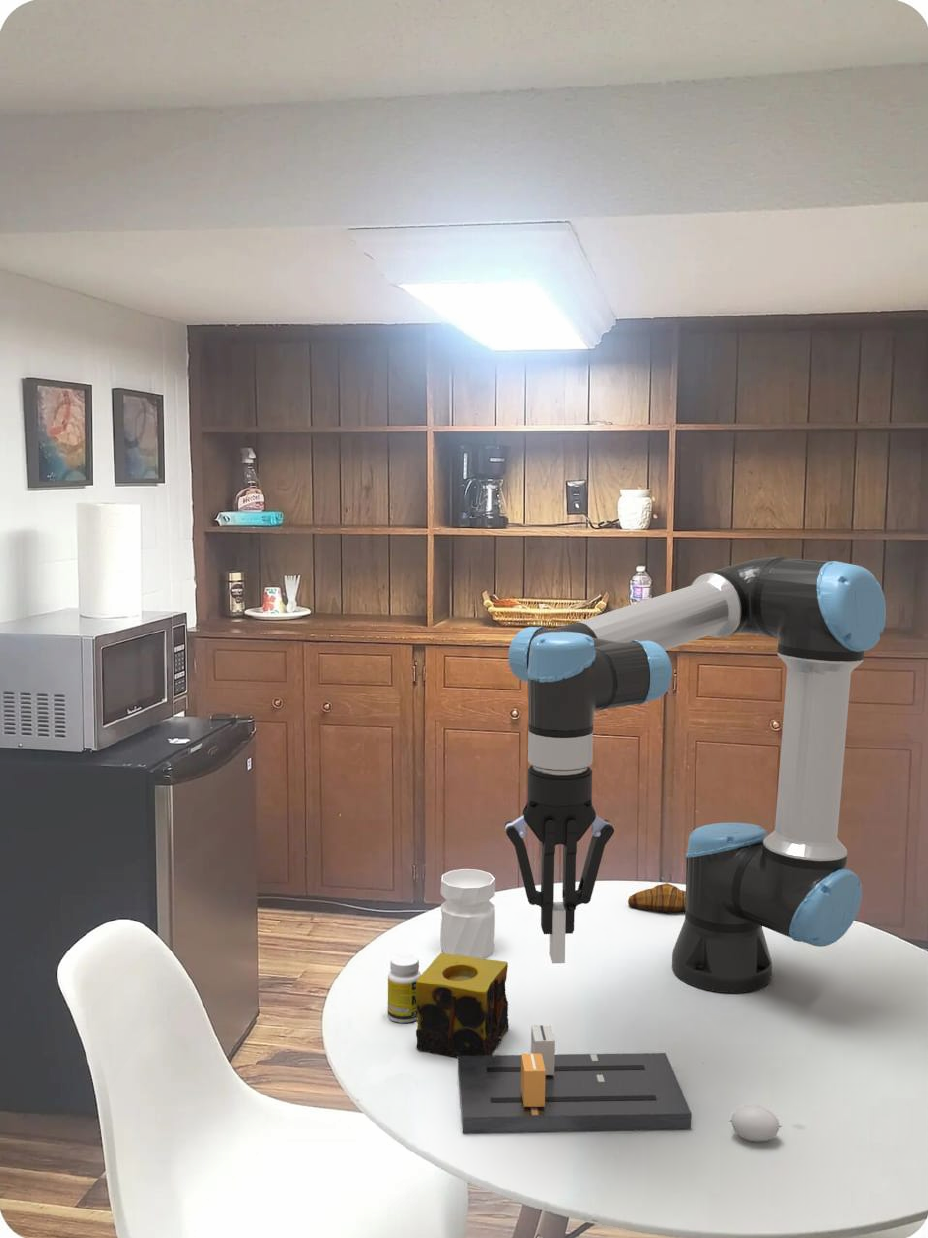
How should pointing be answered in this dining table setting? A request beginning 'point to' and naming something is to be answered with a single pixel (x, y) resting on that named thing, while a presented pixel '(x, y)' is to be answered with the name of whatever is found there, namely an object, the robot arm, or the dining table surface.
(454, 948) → the vase
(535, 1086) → the fader
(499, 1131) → the console
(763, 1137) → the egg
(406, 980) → the supplement bottle
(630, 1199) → the dining table surface
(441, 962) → the candle
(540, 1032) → the fader
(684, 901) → the croissant
